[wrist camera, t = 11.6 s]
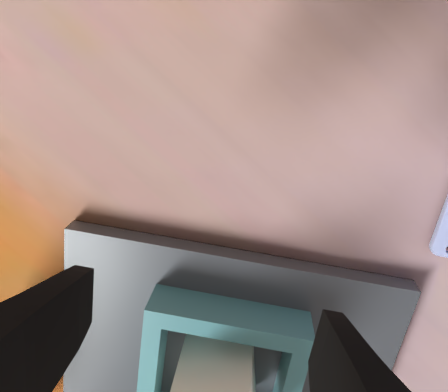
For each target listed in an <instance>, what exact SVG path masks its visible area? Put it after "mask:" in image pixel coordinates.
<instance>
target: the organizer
mask: <svg viewBox="0 0 448 392" xmlns="http://www.w3.org/2000/svg"><path fill="white" fill-rule="evenodd" d="M74 265H79V266H84V267H90V268H94V285H93V312H92V323H91V325H90V328H89V330H88V332H87V334H86V336H85V338H84V340H83V342H82V344H81V346H80V348H79V350H78V352H77V354H76V355H75V357H74V358H73V360H72V362H71V363H70V365H69V366H68V368H67V369H66V371H65V372H64V382H63V392H170V390H171V386H172V383H173V379H174V376H175V372H176V368H177V365H178V361H179V357H180V354H181V350H182V347H183V343H184V339H185V336H186V334H190V335H196V336H201V337H207V338H212V339H217V340H223V341H228V342H233V343H239V344H244V345H250V346H254V363H255V381H256V392H310V389H309V370H308V360H309V356H310V353H311V349H312V346H313V342H314V339H315V335H316V332H317V328H318V324H319V321H320V317H321V314H322V310H323V309H325V310H331V311H337V312H342V313H344V315H345V316H346V317H347V318H348V319H349V321H350V322H351V323H352V324H353V326H354V327H355V328H356V329H357V331H358V332H359V333H360V334H361V336H362V337H363V338H364V339H365V340H366V342H367V343H368V344H369V345H370V347H371V348H372V349H373V350H374V351H375V353H376V354H377V355H378V356H379V357H380V358H381V360H382V361H383V362H384V363H385V364H386V365H387V366H388V368H389V369H390V370H392V368H393V365H394V363H395V360H396V357H397V355H398V352H399V349H400V347H401V344H402V341H403V339H404V336H405V334H406V331H407V328H408V326H409V323H410V320H411V318H412V315H413V313H414V310H415V307H416V305H417V302H418V299H419V297H420V294H421V291H420V290H419V288H418V287H417V285H416V283H415V282H414V280H409V279H403V278H398V277H392V276H386V275H381V274H375V273H369V272H364V271H358V270H352V269H347V268H341V267H335V266H330V265H324V264H318V263H313V262H307V261H301V260H296V259H290V258H284V257H279V256H273V255H267V254H262V253H256V252H251V251H245V250H239V249H234V248H228V247H222V246H217V245H211V244H205V243H200V242H194V241H188V240H183V239H177V238H171V237H166V236H160V235H154V234H149V233H143V232H137V231H132V230H126V229H120V228H115V227H109V226H103V225H98V224H92V223H87V222H81V221H75V220H74V221H73V222H71V223H70V224H69V225H68V226H67V227H66V228H65V229H64V270H66V269H68V268H70V267H72V266H74Z"/></svg>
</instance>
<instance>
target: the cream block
mask: <svg viewBox="0 0 448 392" xmlns="http://www.w3.org/2000/svg"><path fill="white" fill-rule="evenodd" d="M170 392H256V381H255V363H254V346H250V345H244V344H239V343H233V342H228V341H223V340H217V339H212V338H207V337H201V336H196V335H190V334H186V336H185V339H184V343H183V347H182V350H181V354H180V357H179V361H178V365H177V368H176V372H175V376H174V379H173V383H172V386H171V390H170Z"/></svg>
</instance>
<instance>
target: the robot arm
mask: <svg viewBox="0 0 448 392" xmlns="http://www.w3.org/2000/svg"><path fill="white" fill-rule="evenodd" d="M447 247H448V195H447V197H446V200H445V203H444V206H443V208H442V211H441V214H440V216H439V219H438V222H437V224H436V227H435V230H434V233H433V235H432V238H431V241H430V243H429V248H430V250H431V252H432V253H433V254H434V255H437V256H441V257H447V258H448V251H446V248H447ZM93 285H94V268H90V267H84V266H79V265H74V266H72V267H70V268H68V269H66V270H64V271H62V272H60V273H58V274H56V275H54V276H52V277H50V278H49V279H47V280H45V281H43V282H41V283H39V284H37V285H35V286H33V287H31V288H29V289H27V290H26V291H24V292H22V293H20V294H18V295H15V296H13V297H11V298H9V299H7V300H5V301H3V302H0V392H52V391H53V389H54V388H55V386H56V385H57V383H58V382H59V380H60V379H61V377H62V376H63V374H64V372H65V371H66V369H67V368H68V366H69V365H70V363H71V362H72V360H73V358H74V357H75V355H76V354H77V352H78V350H79V348H80V346H81V344H82V342H83V340H84V338H85V336H86V334H87V332H88V330H89V328H90V325H91V323H92V312H93ZM308 370H309V389H310V392H411V391H410V390H409V389H408V388H407V387H406V386H405V385H404V384H403V383H402V382H401V380H400V379H399V378H398V377H397V376H396V375H395V374H394V373H393V372H392V371H391V370H390V369H389V368H388V366H387V365H386V364H385V363H384V362H383V361H382V360H381V358H380V357H379V356H378V355H377V354H376V353H375V351H374V350H373V349H372V348H371V347H370V345H369V344H368V343H367V342H366V340H365V339H364V338H363V337H362V336H361V334H360V333H359V332H358V331H357V329H356V328H355V327H354V326H353V324H352V323H351V322H350V321H349V319H348V318H347V317H346V316H345V315H344V313H342V312H337V311H331V310H325V309H323V310H322V314H321V317H320V321H319V324H318V328H317V332H316V335H315V339H314V342H313V346H312V349H311V353H310V356H309V360H308Z"/></svg>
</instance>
